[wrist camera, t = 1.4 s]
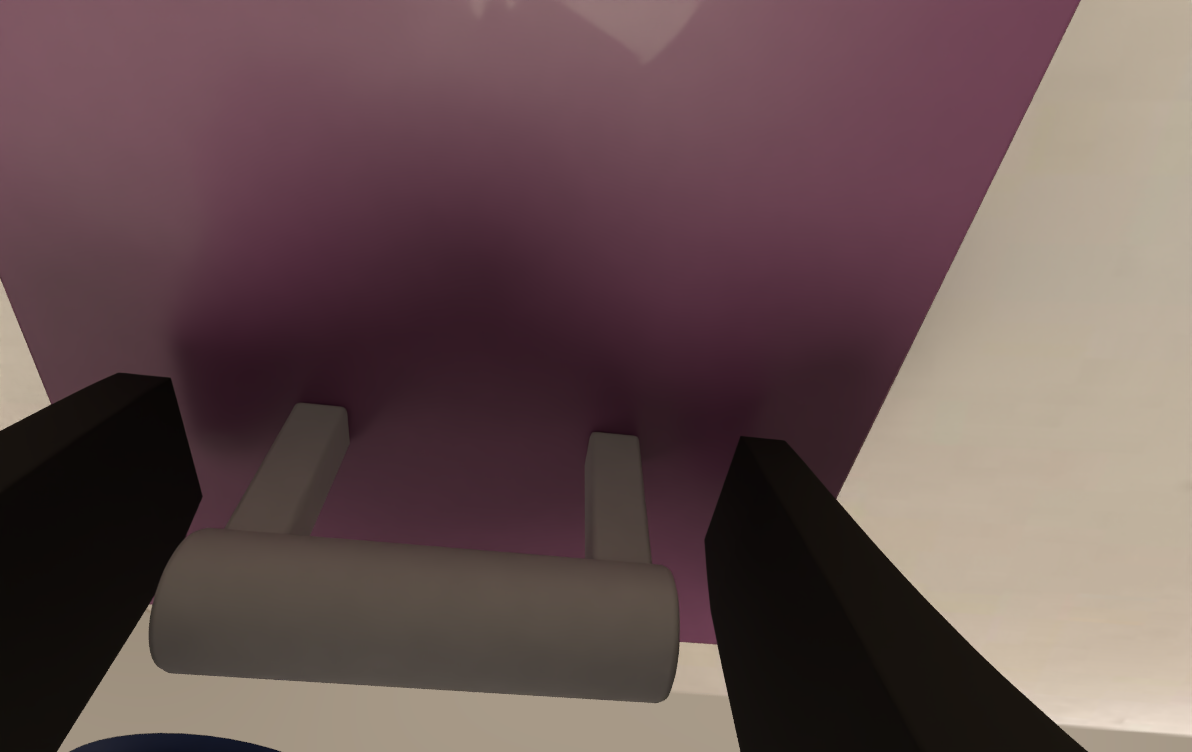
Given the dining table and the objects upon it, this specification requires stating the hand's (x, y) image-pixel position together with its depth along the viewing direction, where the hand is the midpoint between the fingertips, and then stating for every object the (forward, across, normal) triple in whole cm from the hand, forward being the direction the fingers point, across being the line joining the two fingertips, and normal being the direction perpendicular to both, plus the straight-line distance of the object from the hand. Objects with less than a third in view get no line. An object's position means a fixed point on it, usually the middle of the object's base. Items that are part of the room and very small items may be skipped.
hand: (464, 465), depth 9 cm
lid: (+1, 0, -2) cm, 2 cm away
